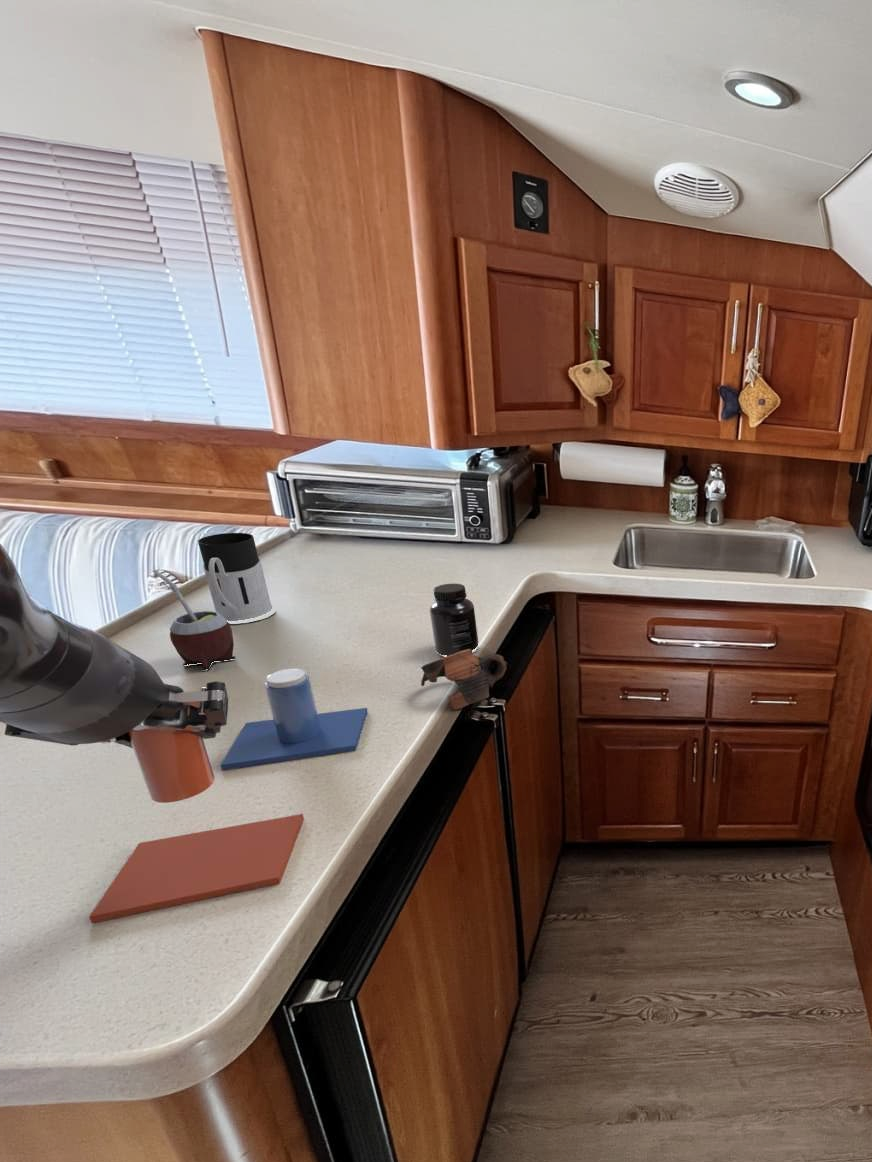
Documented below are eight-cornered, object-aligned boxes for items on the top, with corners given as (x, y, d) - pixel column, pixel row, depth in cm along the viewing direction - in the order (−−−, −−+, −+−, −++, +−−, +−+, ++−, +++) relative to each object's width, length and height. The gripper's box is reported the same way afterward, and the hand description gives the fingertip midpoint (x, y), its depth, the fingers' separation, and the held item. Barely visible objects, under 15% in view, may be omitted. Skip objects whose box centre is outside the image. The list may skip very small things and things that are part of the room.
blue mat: (221, 770, 79) (220, 765, 78) (247, 727, 87) (246, 722, 87) (355, 750, 84) (354, 745, 84) (367, 712, 93) (367, 707, 93)
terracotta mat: (91, 923, 58) (88, 917, 58) (141, 848, 67) (139, 842, 66) (280, 883, 64) (278, 877, 64) (304, 818, 72) (303, 813, 72)
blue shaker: (274, 746, 83) (258, 686, 79) (283, 727, 86) (268, 669, 83) (317, 740, 84) (303, 681, 81) (324, 722, 88) (311, 665, 85)
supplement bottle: (484, 642, 116) (477, 581, 112) (472, 659, 110) (465, 595, 106) (443, 642, 115) (435, 580, 111) (429, 659, 109) (420, 594, 104)
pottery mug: (433, 720, 93) (410, 669, 92) (440, 715, 102) (420, 668, 101) (516, 686, 98) (495, 637, 97) (517, 684, 106) (497, 639, 106)
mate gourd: (234, 668, 101) (210, 580, 95) (167, 677, 97) (137, 586, 91) (242, 649, 107) (220, 565, 101) (179, 656, 103) (152, 569, 97)
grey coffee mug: (281, 604, 124) (263, 530, 118) (260, 634, 112) (240, 553, 106) (223, 608, 120) (202, 532, 115) (196, 640, 108) (171, 556, 103)
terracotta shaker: (141, 807, 59) (111, 724, 56) (162, 778, 63) (135, 698, 59) (204, 797, 61) (179, 716, 57) (222, 769, 65) (199, 692, 61)
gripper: (194, 625, 51) (271, 685, 66) (-65, 645, 45) (82, 706, 60) (186, 715, 49) (267, 757, 63) (-90, 749, 43) (70, 786, 57)
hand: (176, 732), depth 61 cm, fingers closed on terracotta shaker, 4 cm apart
